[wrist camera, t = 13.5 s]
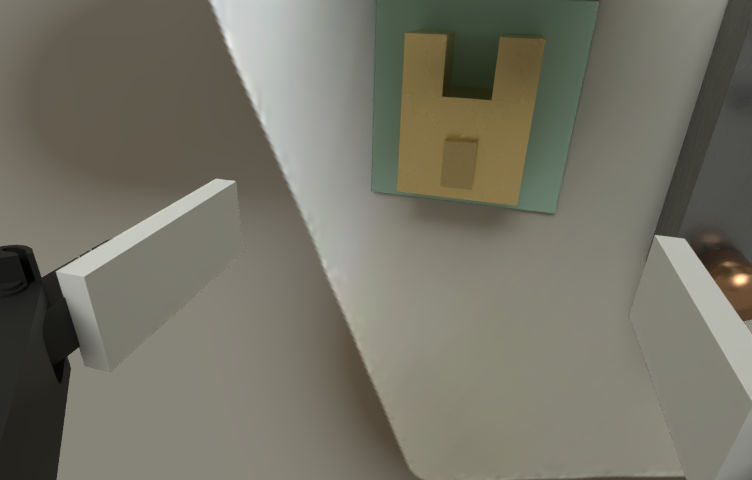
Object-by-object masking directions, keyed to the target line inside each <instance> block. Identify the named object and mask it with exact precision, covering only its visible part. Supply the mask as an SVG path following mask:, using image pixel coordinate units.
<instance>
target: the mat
mask: <svg viewBox="0 0 752 480" xmlns="http://www.w3.org/2000/svg"><path fill="white" fill-rule="evenodd" d="M599 3H600V1H573V0H376V35H375V73H374V111H373V149H372V187H371V191H373V192H381V193H389V194H397V195H406V196H414V197H422V198H430V199H438V200H447V201H455V202H463V203H471V204H479V205H488V206H496V207H504V208H512V209H520V210H529V211H537V212H545V213H553V214H555V211H556V207H557V202H558V197H559V192H560V188H561V183H562V178H563V174H564V169H565V164H566V159H567V155H568V150H569V145H570V140H571V136H572V131H573V126H574V121H575V117H576V112H577V107H578V103H579V98H580V93H581V88H582V84H583V79H584V74H585V69H586V65H587V60H588V55H589V51H590V46H591V41H592V36H593V32H594V27H595V22H596V17H597V13H598V8H599ZM418 29H421V30H443V31H456V36H455V46H454V57H453V67H452V78H451V86H460V87H474V88H488V89H493V86H494V78H495V71H496V63H497V55H498V48H499V40H500V36H501V34H502V33H509V34H531V35H543V37H544V38H545V39H546V41H545V47H544V53H543V59H542V64H541V70H540V76H539V82H538V88H537V93H536V99H535V105H534V111H533V117H532V122H531V128H530V134H529V140H528V146H527V152H526V157H525V163H524V169H523V175H522V181H521V186H520V192H519V198H518V204H517V206H514V205H506V204H498V203H490V202H481V201H473V200H465V199H456V198H448V197H440V196H432V195H423V194H415V193H407V192H398V191H397V180H398V161H399V142H400V122H401V103H402V83H403V64H404V45H405V33H406V32H410V31H414V30H418Z"/></svg>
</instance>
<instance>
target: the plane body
mask: <svg viewBox="0 0 752 480" xmlns="http://www.w3.org/2000/svg"><path fill="white" fill-rule="evenodd" d="M655 235H660V236H668V237H676V238H683V239H685V240H686V241H687V242H688V244H689V245H690V247H691V248H692V250H693V251H694V252H695V254H696V255H697V257H698V258H699V260H700V261H701V262H702V264H703V265H704V267H705V268H706V270H707V271H708V272H709V274H710V275H711V277H712V278H713V280H714V281H715V282H716V284H717V285H718V287H719V288H720V290H721V291H722V292H723V294H724V295H725V297H726V298H727V300H728V301H729V302H730V304H731V305H732V307H733V308H734V310H735V311H736V312H737V314H738V315H739V317H740V318H741V320H742V321H746V320H751V319H752V0H729V2H728V5H727V8H726V11H725V14H724V17H723V21H722V24H721V27H720V30H719V33H718V36H717V39H716V43H715V46H714V49H713V52H712V55H711V58H710V61H709V65H708V68H707V71H706V74H705V77H704V80H703V83H702V87H701V90H700V93H699V96H698V99H697V102H696V105H695V109H694V112H693V115H692V118H691V121H690V124H689V127H688V131H687V134H686V137H685V140H684V143H683V146H682V149H681V153H680V156H679V159H678V162H677V165H676V168H675V171H674V175H673V178H672V181H671V184H670V187H669V190H668V193H667V197H666V200H665V203H664V206H663V209H662V212H661V215H660V219H659V222H658V225H657V228H656V231H655V234H654V236H655ZM653 239H654V237H653ZM652 242H653V241H652ZM651 245H652V244H651ZM650 249H651V247H650ZM649 252H650V250H649ZM648 255H649V253H648ZM647 258H648V256H647ZM646 261H647V259H646Z"/></svg>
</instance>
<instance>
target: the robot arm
mask: <svg viewBox="0 0 752 480" xmlns="http://www.w3.org/2000/svg"><path fill="white" fill-rule="evenodd" d="M242 253H243V243H242V234H241V224H240V215H239V205H238V197H237V186H236V181H228V180H221V179H215V180H213V181H211V182H210V183H208V184H206V185H205V186H203V187H201V188H199V189H198V190H196V191H194V192H192V193H191V194H189V195H187V196H185V197H184V198H182V199H181V200H179V201H177V202H175V203H173V204H172V205H170V206H168V207H166V208H165V209H163V210H161V211H160V212H158V213H156V214H155V215H153V216H151V217H149V218H147V219H146V220H144V221H142V222H140V223H139V224H137V225H135V226H134V227H132V228H130V229H129V230H127V231H125V232H123V233H121V234H120V235H118V236H116V237H115V238H112V239H110V240H107V241H105V242H103V243H101V244H99V245H98V246H96V247H94V248H93V249H92V251H87V252H86V253H84V254H82V255H80V258H75V259H73V260H72V261H70V262H68V263H66V264H65V265H63V266H61V267H59V268H58V269H56V270H54V271H52V272H51V273H49V274H47V275H46V276H44V277H42V278H41V275H40V272H39V269H38V266H37V262H36V260H35V257H34V254H33V250H32V248H30V247H27V246H23V245H8V246H1V247H0V480H56V478H57V471H58V463H59V456H60V447H61V440H62V433H63V432H62V431H63V425H64V417H65V409H66V402H67V394H68V386H69V378H70V370H71V367H70V363H69V360H68V357H67V356H68V355H69V354H71V353H72V352H73V351H75V350H76V349H77V348H78V347H79V348H80V352H81V355H82V358H83V361H84V365H85V366H87V367H91V368H95V369H99V370H103V371H108V372H112V371H113V370H114V369H115V368H116V367H117V366H118V365H119V364H120V363H122V362H123V361H124V360H125V359H126V358H127V357H128V356H129V355H130V354H132V353H133V352H134V351H135V350H136V349H137V348H138V347H139V346H140V345H141V344H143V343H144V342H145V341H146V340H147V339H148V338H149V337H150V336H151V335H153V334H154V333H155V332H156V331H157V330H158V329H159V328H160V327H161V326H163V325H164V324H165V323H166V322H167V321H168V320H169V319H170V318H171V317H172V316H174V315H175V314H176V313H177V312H178V311H179V310H180V309H181V308H182V307H183V306H185V305H186V304H187V303H188V302H189V301H190V300H191V299H192V298H194V297H195V296H196V295H197V294H198V293H199V292H200V291H201V290H202V289H204V288H205V287H206V286H207V285H208V284H209V283H210V282H211V281H212V280H214V279H215V278H216V277H217V276H218V275H219V274H220V273H221V272H222V271H224V270H225V269H226V268H227V267H228V266H229V265H230V264H231V263H232V262H233V261H234V260H236V259H237V258H238V257H239V256H240V255H241V254H242ZM629 316H630V319H631V322H632V325H633V328H634V331H635V334H636V337H637V339H638V342H639V345H640V348H641V351H642V354H643V357H644V359H645V362H646V365H647V368H648V371H649V374H650V377H651V379H652V382H653V385H654V388H655V391H656V394H657V397H658V399H659V402H660V405H661V408H662V411H663V414H664V417H665V419H666V422H667V425H668V428H669V431H670V434H671V437H672V439H673V442H674V445H675V448H676V451H677V454H678V457H679V459H680V462H681V465H682V468H683V471H684V474H685V477H686V479H687V480H752V334H751V332H750V331H749V330H748V328H747V327H746V325H745V324H744V322H743V321H742V320H741V318H740V317H739V315H738V314H737V312H736V311H735V310H734V308H733V307H732V305H731V304H730V302H729V301H728V300H727V298H726V297H725V295H724V294H723V292H722V291H721V290H720V288H719V287H718V285H717V284H716V282H715V281H714V280H713V278H712V277H711V275H710V274H709V272H708V271H707V270H706V268H705V267H704V265H703V264H702V262H701V261H700V260H699V258H698V257H697V255H696V254H695V252H694V251H693V250H692V248H691V247H690V245H689V244H688V242H687V241H686V240H685V239H683V238H676V237H668V236H660V235H655V236H654V239H653V242H652V245H651V249H650V252H649V255H648V258H647V261H646V264H645V267H644V270H643V273H642V277H641V280H640V283H639V286H638V289H637V292H636V295H635V298H634V301H633V304H632V308H631V311H630V314H629Z"/></svg>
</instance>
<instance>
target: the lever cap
mask: <svg viewBox="0 0 752 480" xmlns="http://www.w3.org/2000/svg"><path fill="white" fill-rule="evenodd" d="M455 36H456V31H443V30H421V29H418V30H414V31H410V32H406V33H405V45H404V64H403V83H402V103H401V122H400V142H399V161H398V180H397V191H398V192H407V193H415V194H423V195H432V196H440V197H448V198H456V199H465V200H473V201H481V202H490V203H498V204H506V205H514V206H517V204H518V198H519V192H520V186H521V181H522V175H523V169H524V163H525V157H526V152H527V146H528V140H529V134H530V128H531V122H532V117H533V111H534V105H535V99H536V93H537V88H538V82H539V76H540V70H541V64H542V59H543V53H544V47H545V41H546V39H545V38H544V37H543V35H531V34H509V33H502V34H501V36H500V40H499V48H498V55H497V63H496V71H495V78H494V86H493V89H488V88H474V87H460V86H451V78H452V67H453V57H454V46H455Z"/></svg>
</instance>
